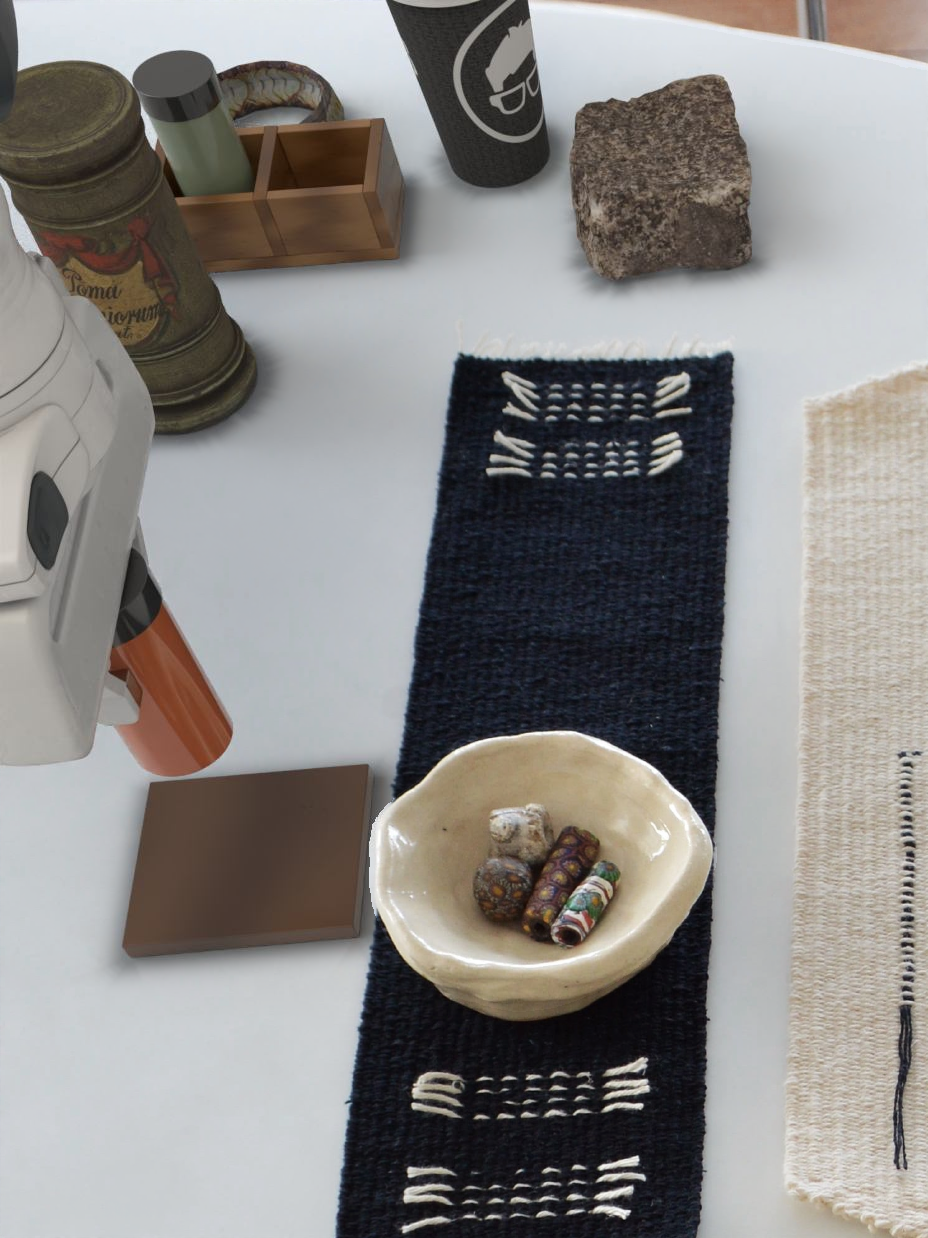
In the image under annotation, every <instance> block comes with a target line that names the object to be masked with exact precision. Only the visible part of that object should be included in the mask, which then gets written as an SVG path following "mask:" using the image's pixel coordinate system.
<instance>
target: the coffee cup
mask: <svg viewBox="0 0 928 1238" xmlns="http://www.w3.org/2000/svg"><path fill="white" fill-rule="evenodd" d="M385 2H386V4H387V7H388V10H389V12H390V15H391V17H392V19H393V22H394V24H395V27H396V30H397V33H398V34H399V37H400V39H401V42H402V45H403V48H404V50H405V52H406V54H407V57H408V60H409V62H410V65H411V69H412V70H413V72H414V75H415V77H416V80H417V82H418V85H419V89H421V93H422V96H423V98H424V101H425V102H426V106H427V108H428V110H429V114H430V116H431V118H432V121H433V124H434V126H435V128H436V131H437V133H438V134H437V135H438V137H439V139H440V141H441V144H442V146H443V149H444V152H445V154H446V157H447V160H448V162H449V164H450V167H451V169H452V171H453V173H454V174H455V175H456V176H457V177H458V179H460V180H462V181H464V182H466V183H468V184H470V185H473V186H477V187H481V188H482V187H483V188H502V187H509V186H513V185H517V184H521V183H523V182H525V181H528V180H530V179H532V177H534V176H536V175H537V174H539V172H541V171H542V170H543V169H544V167H545V166H546V165H547V163H548V161H549V159H550V156H551V155H550V154H551V153H550V152H551V150H550V141H549V135H548V128H547V122H546V114H545V107H544V101H543V100H544V99H543V95H542V88H541V80H540V74H539V68H538V67H539V66H538V60H537V54H536V53H537V52H536V47H535V46H536V45H535V39H534V33H533V26H532V17H531V12H530V5H529V0H385Z"/></svg>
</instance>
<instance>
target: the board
mask: <svg viewBox="0 0 928 1238" xmlns="http://www.w3.org/2000/svg"><path fill="white" fill-rule="evenodd" d="M374 779H375V775H374V773H373V771H372V769H371V766H370V764H369V763H359V764H348V765H337V766H324V767H313V768H300V769H290V770H289V769H288V770H279V771H278V770H277V771H266V772H265V771H264V772H254V773H242V774H241V773H240V774H231V775H220V776H219V775H218V776H208V777H198V778H196V777H195V778H194V777H193V778H185V779H172V780H162V781H161V780H160V781H150V782H149V786H148V791H147V797H146V803H145V808H144V815H143V819H142V826H141V831H140V837H139V838H140V839H139V843H138V850H137V856H136V860H135V867H134V872H133V879H132V885H131V891H130V895H129V902H128V908H127V915H126V920H125V925H124V929H123V930H124V931H123V938H122V942H121V944H122V945H121V948H122V949H123V950H124V952H125V953H126V954H127V956H128V957H129V958H138V957H139V958H140V957H148V956H149V957H150V956H160V955H172V954H183V953H194V952H205V951H207V952H208V951H215V950H227V949H237V948H238V949H239V948H251V947H260V946H261V947H263V946H272V945H274V946H275V945H283V944H285V945H286V944H293V943H295V944H296V943H305V942H306V943H307V942H317V941H319V942H320V941H329V940H339V939H340V940H341V939H348V938H349V939H351V938H359V936H360V929H361V920H362V919H361V918H362V908H363V896H364V888H365V887H364V885H365V876H366V875H365V874H366V865H367V854H368V853H367V852H368V844H369V843H368V842H369V834H370V833H369V832H370V823H371V809H372V799H373V790H374V789H373V788H374Z"/></svg>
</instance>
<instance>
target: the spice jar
mask: <svg viewBox="0 0 928 1238" xmlns="http://www.w3.org/2000/svg"><path fill="white" fill-rule="evenodd" d="M149 567H150V566H149ZM149 567H148V565H147V563H146V561H145V559H144V558H143V556H142V555H141V554H140V553H139V552H138V551H137V550H136V549H134V548H133V547H131V552H130V557H129V562H128V567H127V572H126V577H125V583H124V588H123V593H122V598H121V603H120V608H119V613H118V618H117V623H116V629H115V634H114V639H113V644H112V649H111V654H110V661H111V666H110V670H108V672H111V671H117V670H124V669H129V670H130V671H131V673H132V674H133V676H134V678H135V679H136V683H137V686H140V687H141V689H142V691H143V693H142V700H141V707H140V711H139V719H138V721H137V722H136V723H133V724H125V725H113V726H112V727H113V728H114V730H115V731H116V733H117V734H118V736H119V737H120V738H121V741H122V742H123V743H124V745H125V747H126V748H127V750H128V751H129V753H130V754H131V755H132V757H133V758H134V760H135V762H136V763H137V765H139V766H140V767H141V768H142V769H143V770H144V771H146V772H148V773H150V774H152V775H156V776H159V777H168V778H175V777H183V776H184V777H185V776H190V775H192V774H196V773H198V772H200V771H203V770H205V769H206V768H209V767H210V766H211V765H212V764H214V763H215V762H217V760H219V759H220V758H221V757H222V756H223V755H224V753H225V752H226V751H227V749H228V748H229V746H230V744H231V742H232V739H233V736H234V722H233V720H232V717H231V715H230V714H229V711H228V710H227V707H226V706H225V704H224V703H223V701H222V699H221V698H220V695H219V693H218V691H217V690H216V688H215V686H214V685H213V683H212V681H211V679H210V678H209V676H208V674H207V672H206V671H205V669H204V667H203V665H202V664H201V662H200V660H199V658H198V657H197V655H196V653H195V651H194V649H193V648H192V646H191V644H190V643H189V640H188V639H187V637H186V635H185V634H184V632H183V630H182V629H181V627H180V625H179V623H178V621H177V619H176V617H175V616H174V614H173V612H172V610H171V609H170V607H169V605H168V603H167V602H166V600H165V598H164V596H163V593H162V588H161V589H160V587H161V586H160V584H159V582H158V580H157V578H156V577H155V575H154V573H153V571H152V569H151V567H150V568H149ZM150 569H151V570H150ZM151 571H152V572H151ZM152 573H153V574H152ZM155 578H156V579H155ZM156 580H157V581H156ZM157 582H158V583H157Z"/></svg>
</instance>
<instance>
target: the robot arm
mask: <svg viewBox="0 0 928 1238" xmlns="http://www.w3.org/2000/svg"><path fill="white" fill-rule="evenodd" d="M18 34H19V33H18V24H17V15H16V10H15V6H14V1H13V0H0V124H1V123H3V122H4V121H5V120H6V119H7V118H8V116H9V114H10V112H11V110H12V106H13V102H14V96H15V91H16V84H17V73H18V71H19V36H18ZM5 192H6V191H5V189H4V187H3V185H2V184H1V182H0V766H4V767H5V766H6V767H36V766H48V765H56V764H62V763H68V762H73V761H79V760H82V759H85V758H86V757H88V756H89V755H90V753H91V752H92V750H93V748H94V743H95V737H96V731H97V726H98V724H99V725H102V726H105V727H111V726H112V727H114V726H113V725H125V724H133V723H136V722H137V721H138V719H139V711H140V707H141V700H142V693H143V691H142V689H141V687H140V686H137V683H136V679H135V678H134V676H133V674H132V673H131V671H130V670H129V669H124V670H117V671H111V672H108V670H110V666H111V661H110V654H111V649H112V644H113V639H114V634H115V629H116V623H117V618H118V613H119V608H120V603H121V598H122V593H123V588H124V583H125V577H126V572H127V567H128V562H129V557H130V552H131V547H133V548H134V549H136V550H137V551H138V552H139V553H140V554H141V555H142V556H143V558H144V559H145V561H146V563H147V565H148V567H149V568H150V570H151V572H152V574H153V575H154V573H153V571H152V569H151V567H150V561H149V556H148V552H147V548H146V541H145V537H144V533H143V529H142V524H141V519H140V517H139V510H140V505H141V500H142V496H143V490H144V486H145V480H146V475H147V469H148V465H149V460H150V454H151V449H152V443H153V439H154V430H155V416H154V411H153V406H152V402H151V398H150V395H149V391H148V389H147V387H146V385H145V383H144V381H143V379H142V377H141V376H140V374H139V372H138V370H137V369H136V367H135V365H134V363H133V362H132V360H131V358H130V357H129V355H128V353H127V352H126V350H125V348H124V347H123V345H122V344H121V342H120V340H119V339H118V337H117V335H116V334H115V332H114V331H113V329H112V328H111V326H110V325H109V323H108V322H107V320H106V319H105V317H104V316H103V314H102V313H101V312H100V311H99V309H98V308H97V307H96V306H95V305H94V304H93V303H92V302H91V301H90V300H89V299H87V298H85V297H83V296H79V295H78V296H71V294H70V293H69V291H68V289H67V287H66V285H65V283H64V281H63V279H62V277H61V275H60V273H59V271H58V269H57V268H56V266H55V265H54V263H53V262H52V260H51V259H50V258H49V257H43V255H42V254H40V253H39V252H37V251H33V250H29V251H25V249H24V248H23V247H22V245H21V243H20V242H19V240H18V238H17V236H16V232H15V231H14V228H13V224H12V218H11V212H10V205H9V202H8V199H7V196H6V193H5ZM155 579H156V581H157V583H158V584H159V582H158V580H157V578H156V577H155ZM160 589H161V590H162V587H161V586H160Z"/></svg>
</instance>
